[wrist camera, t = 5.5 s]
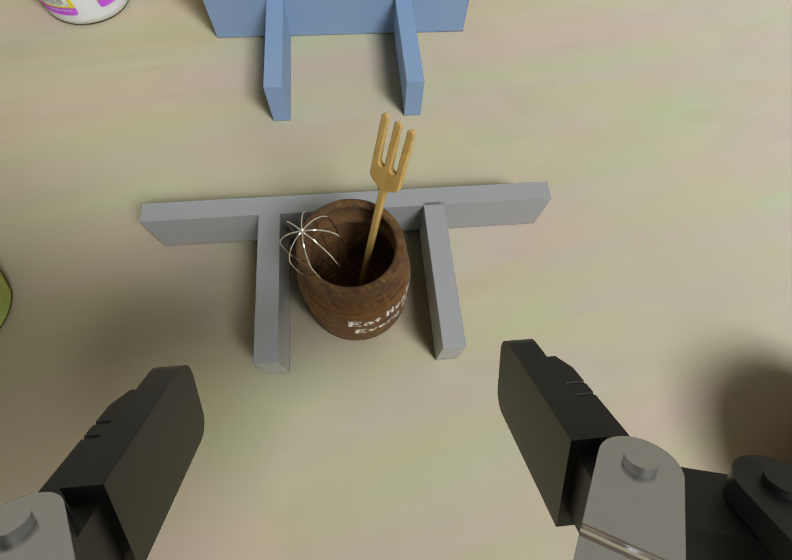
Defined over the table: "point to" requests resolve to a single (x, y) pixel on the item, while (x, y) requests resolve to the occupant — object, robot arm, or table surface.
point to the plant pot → (4, 299)
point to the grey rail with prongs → (270, 214)
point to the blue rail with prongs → (335, 14)
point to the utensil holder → (357, 253)
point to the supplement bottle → (83, 9)
